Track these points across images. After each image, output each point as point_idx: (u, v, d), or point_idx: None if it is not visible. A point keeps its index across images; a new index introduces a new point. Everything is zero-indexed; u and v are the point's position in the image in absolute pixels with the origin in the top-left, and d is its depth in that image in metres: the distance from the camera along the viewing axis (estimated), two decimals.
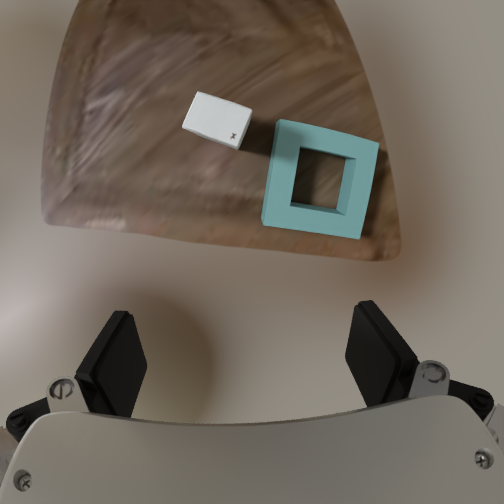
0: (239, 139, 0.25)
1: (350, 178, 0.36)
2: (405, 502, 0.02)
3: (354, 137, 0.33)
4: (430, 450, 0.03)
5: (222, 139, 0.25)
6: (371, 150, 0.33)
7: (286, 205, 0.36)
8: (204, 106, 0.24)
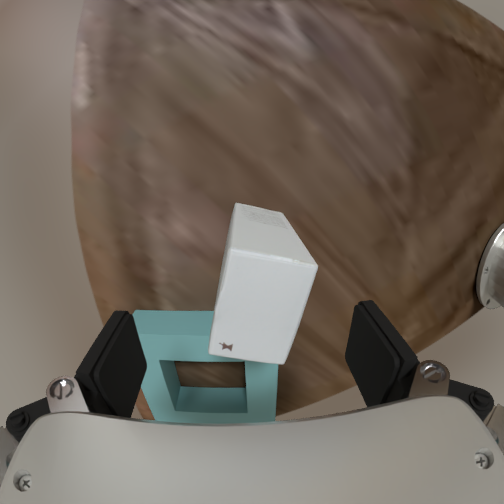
0: (222, 355, 0.14)
1: (221, 406, 0.27)
2: (405, 502, 0.02)
3: (273, 407, 0.26)
4: (430, 450, 0.03)
5: (216, 330, 0.13)
6: None
7: (157, 356, 0.23)
8: (283, 288, 0.12)
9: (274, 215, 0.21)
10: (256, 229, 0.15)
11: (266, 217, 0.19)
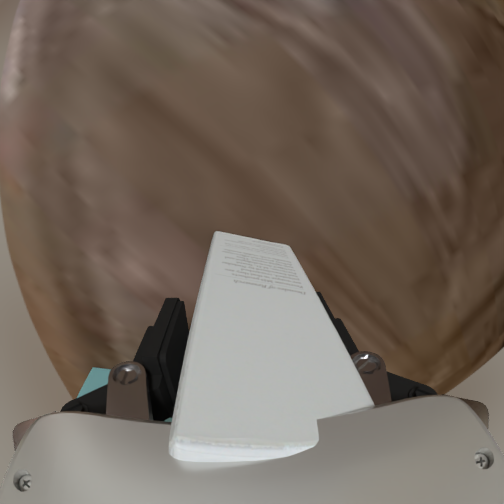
0: None
1: None
2: (405, 502, 0.02)
3: None
4: (430, 450, 0.03)
5: None
6: None
7: None
8: None
9: (278, 256, 0.13)
10: (247, 317, 0.07)
11: (265, 265, 0.11)
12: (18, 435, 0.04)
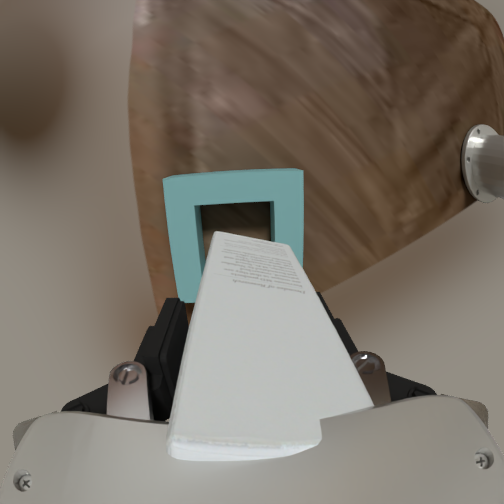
0: None
1: None
2: (405, 502, 0.02)
3: None
4: (430, 450, 0.03)
5: None
6: None
7: (194, 201, 0.27)
8: None
9: (278, 255, 0.13)
10: (246, 316, 0.07)
11: (265, 264, 0.11)
12: (19, 435, 0.04)
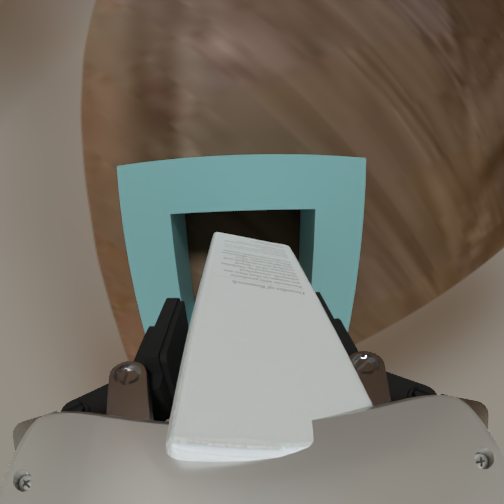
0: None
1: None
2: (405, 502, 0.02)
3: (348, 315, 0.18)
4: (430, 450, 0.03)
5: None
6: None
7: (170, 206, 0.15)
8: None
9: (277, 256, 0.13)
10: (245, 318, 0.07)
11: (264, 265, 0.11)
12: (19, 435, 0.04)
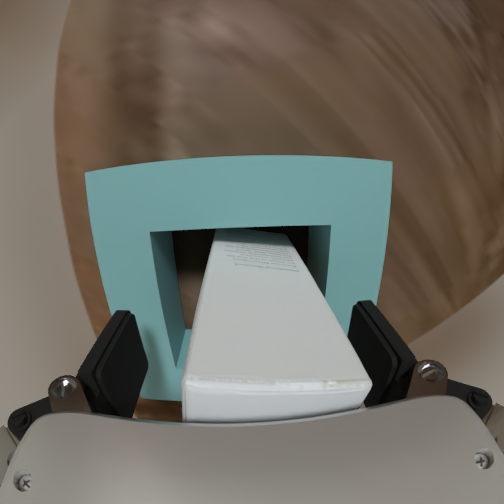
0: None
1: None
2: (405, 502, 0.02)
3: None
4: (430, 450, 0.03)
5: None
6: None
7: (148, 221, 0.12)
8: None
9: (275, 242, 0.14)
10: (246, 290, 0.09)
11: (263, 250, 0.12)
12: None
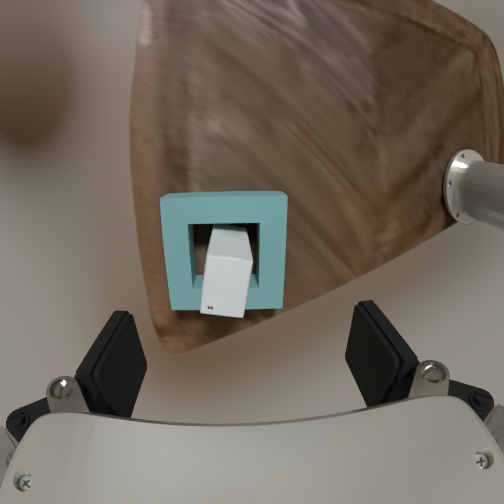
0: (208, 313, 0.25)
1: None
2: (405, 502, 0.02)
3: (282, 280, 0.33)
4: (430, 450, 0.03)
5: (203, 298, 0.25)
6: (272, 301, 0.34)
7: (187, 220, 0.30)
8: (236, 273, 0.24)
9: (238, 230, 0.33)
10: (223, 242, 0.27)
11: (232, 232, 0.31)
12: None
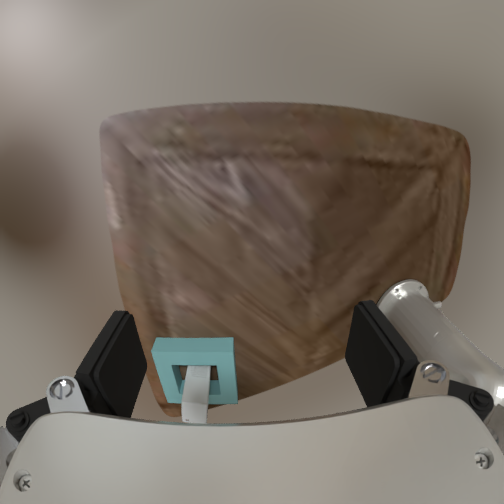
0: None
1: None
2: (405, 502, 0.02)
3: (235, 391, 0.47)
4: (430, 450, 0.03)
5: (183, 416, 0.38)
6: (230, 401, 0.48)
7: (170, 362, 0.44)
8: (198, 409, 0.38)
9: None
10: (192, 384, 0.41)
11: (200, 369, 0.45)
12: None
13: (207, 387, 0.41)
